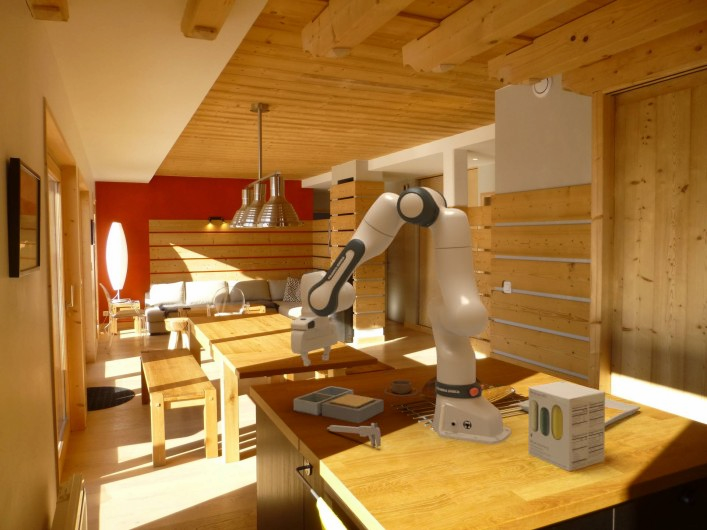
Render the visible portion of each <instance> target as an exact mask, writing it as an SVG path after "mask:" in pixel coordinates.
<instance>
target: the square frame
mask: <svg viewBox="0 0 707 530" xmlns="http://www.w3.org/2000/svg"><path fill="white" fill-rule="evenodd" d="M346 395H348V394H346ZM346 395H343V396H346ZM351 395H352V394H351ZM356 395H357V394H356ZM343 396H340V397H343ZM357 396H359V395H357ZM361 396H362V395H361ZM340 397H338V398H340ZM362 397H365V396H364V395H363V396H362ZM367 397H368V398H370V397H369V396H367ZM338 398H335V399H338ZM372 398H373V399H375V402H372V403H370V404H368V405H365V406H363V407H361V408H358V409H356V408H351V407H345V406H340V405H335V404H331V401H333V400H335V399H333V400H330V401H327V402H325V403H322V414H321V416H323V417H328V418H332V419H337V420H341V421H345V422H350V423H354V424H355V423H356V424H360V423H363V422H364V421H367V420H369V419H371V418H373V417H374V416H377V415H378V414H381V413H383V412H385V411H384V406H385V405H384V399H381V398H374V397H372Z"/></svg>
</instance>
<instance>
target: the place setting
mask: <svg viewBox="0 0 707 530" xmlns="http://www.w3.org/2000/svg"><path fill="white" fill-rule="evenodd" d="M411 389H412V390H415V391H416V392H415V393H414V392H413V393H412V394H411V393H410V391H411ZM388 390H391V391H392V392H393V393H390V392H387V391H388ZM394 393H395V394H394ZM408 393H410V394H408ZM384 394H386V395H390V396H393V397H407V396H408V397H414V396H416V395H417V394H419V391H418V389H417V388H414V387H412V381H409V380H407V379H396V380H395V379H394V380H392V381H391V386H390V387H387V388H385V389H384ZM408 397H407V398H408Z"/></svg>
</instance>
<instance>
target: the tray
mask: <svg viewBox="0 0 707 530" xmlns="http://www.w3.org/2000/svg"><path fill="white" fill-rule="evenodd" d="M346 394H352V395H354V389H350V388H344V387H339V386H335V385H334V386H332V385H331V386H326V387H324V388H321V389H319V390H316V391H312V392H310V393H307V394H304V395H302V396H298V397H295V398H293V411H295V412H297V413H302V414H303V413H304V414H308V415H313V416H317V417H318V416H320V415H322V403H325V402H327V401H330V400H333V399H335V398H338V397H340V396H343V395H346Z"/></svg>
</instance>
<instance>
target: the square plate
mask: <svg viewBox="0 0 707 530" xmlns="http://www.w3.org/2000/svg"><path fill="white" fill-rule="evenodd" d="M517 406H519V407H520V408H521V409H522V410H524V411H525V412H527V413H529V399H526V400H524V401H522V402H519V403H517ZM605 408H609V409H614V410H620V411H622V412H620V413H618V414H616V415H614V416H612V417H610V418H609V419H607V420H605V427H607V426H608V425H610V424H613V423H615V422H617V421H619V420H622V419H625V418H627V417H630V416H631V415H633V414H635V413H636V412H637V411H638V410H640V409H641V407H640V406H639V405H636V404H631V403H627V402H622V401H618V400H614V399H610V398H606V397H605Z"/></svg>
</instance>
